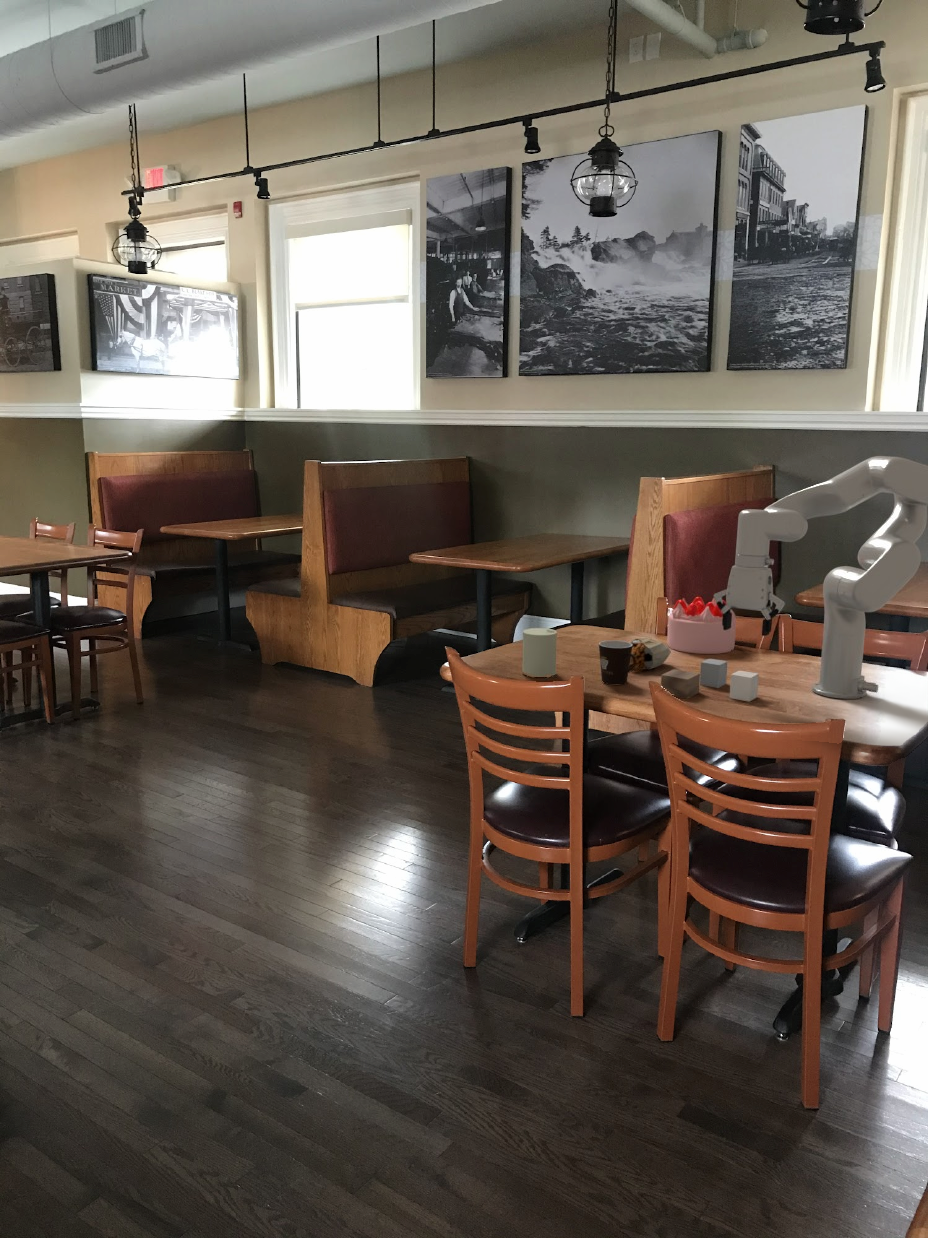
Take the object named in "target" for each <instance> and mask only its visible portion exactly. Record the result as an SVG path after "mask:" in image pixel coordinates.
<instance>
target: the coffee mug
mask: <svg viewBox="0 0 928 1238" xmlns="http://www.w3.org/2000/svg"><path fill="white" fill-rule="evenodd" d="M629 642H630V641H626V640H625V641H624V640H602V641H600V642H598V650H599V660H600V661H599V663H600V673H601V674H600V675H601V682H602V681H603V682H604V683H603V682H602V683H603V684H605V683H608V684H607V685H609V684H623V685H626V684H627V683H628V677H629V673H628V672H632V671H633V670H634V669H633V668H634V667H636V666H635V665H636V659H635V657H634V655H633V654H631V652H632V646H633V644H631V643H629ZM631 657H632V658H633V664H632V665H631V667H630V659H631ZM625 683H626V684H625Z"/></svg>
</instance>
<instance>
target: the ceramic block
mask: <svg viewBox="0 0 928 1238" xmlns="http://www.w3.org/2000/svg"><path fill="white" fill-rule="evenodd" d="M759 674H760V673H758V672H750V671H746V670H745V671H744V670H737V671H735V672H733V673H731V674H730V682H729V684H730V685H729V699H733V700H738V701H745V702H751V701H753V700H755V699H757V698H758V693H759V678H760V677H759Z"/></svg>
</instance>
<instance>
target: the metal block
mask: <svg viewBox="0 0 928 1238" xmlns="http://www.w3.org/2000/svg"><path fill="white" fill-rule="evenodd" d="M660 680H661V681H660V686H661V685H662V686H663V688H665V689H667V691H669V692H670V693H671V694H674V695H675V696H674V697H676V696H677V697H676V698H682V699H689V698H691V697H693V696H694V695H697V694H699V693H700V672H698V673H697V672H691V671H688V670H687V671H686V670H680V669H675V668H674V669H671V670H670V671H666V672H665V673H663V674H661V676H660Z"/></svg>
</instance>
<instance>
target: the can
mask: <svg viewBox="0 0 928 1238" xmlns="http://www.w3.org/2000/svg"><path fill="white" fill-rule="evenodd" d="M557 631H558V630H555V629H551V628H548V627H547V628H546V627H531V628H526V629H523V631H522V670H521V672H522V671H523V672H524V673H527V674H529V675H534V676H547V675H555V674H556V675H557V666H556V665H557V641H558V640H557V635H558V632H557ZM556 675H555V676H556Z"/></svg>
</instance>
